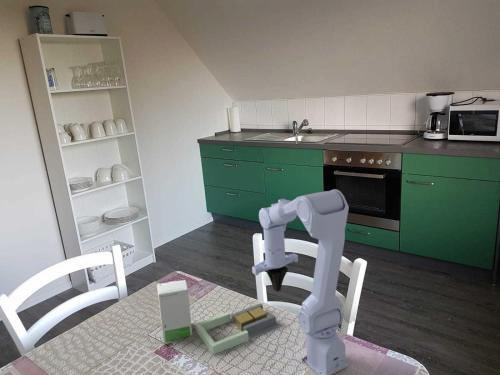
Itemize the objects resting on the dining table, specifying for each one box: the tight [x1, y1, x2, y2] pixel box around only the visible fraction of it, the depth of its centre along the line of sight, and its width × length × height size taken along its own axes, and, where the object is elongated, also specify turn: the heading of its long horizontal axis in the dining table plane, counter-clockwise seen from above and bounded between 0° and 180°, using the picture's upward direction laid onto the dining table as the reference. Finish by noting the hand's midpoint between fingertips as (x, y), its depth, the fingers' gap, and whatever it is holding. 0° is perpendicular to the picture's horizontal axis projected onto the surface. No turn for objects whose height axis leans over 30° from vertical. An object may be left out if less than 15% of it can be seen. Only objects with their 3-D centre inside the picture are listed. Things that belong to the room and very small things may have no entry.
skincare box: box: [156, 279, 193, 345], centre depth 112 cm, size 8×7×16 cm
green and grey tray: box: [194, 303, 280, 355], centre depth 113 cm, size 12×20×4 cm, turn 119°
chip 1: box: [234, 312, 254, 332], centre depth 114 cm, size 4×4×3 cm
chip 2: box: [248, 307, 268, 322], centre depth 116 cm, size 4×4×3 cm
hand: (276, 289), depth 117 cm, fingers closed
